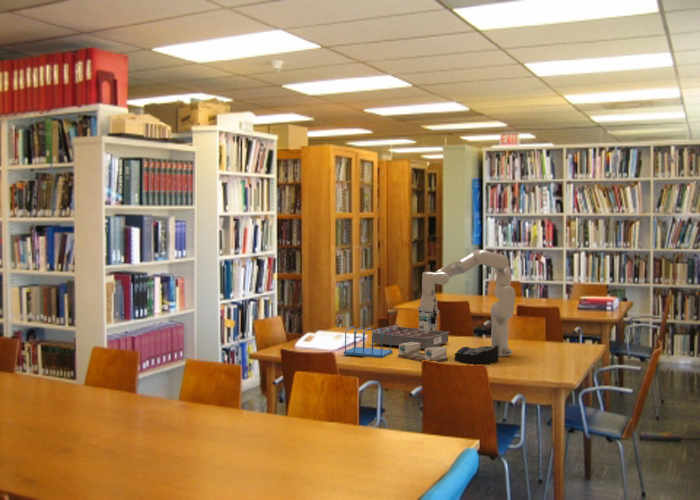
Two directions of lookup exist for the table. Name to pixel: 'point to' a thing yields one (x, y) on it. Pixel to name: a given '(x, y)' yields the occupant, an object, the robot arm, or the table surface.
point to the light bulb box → (426, 322)
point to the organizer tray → (410, 336)
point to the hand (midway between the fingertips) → (428, 322)
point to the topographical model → (477, 355)
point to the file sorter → (367, 351)
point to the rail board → (413, 353)
